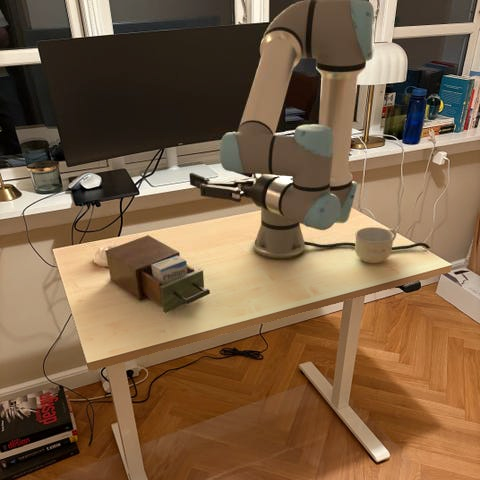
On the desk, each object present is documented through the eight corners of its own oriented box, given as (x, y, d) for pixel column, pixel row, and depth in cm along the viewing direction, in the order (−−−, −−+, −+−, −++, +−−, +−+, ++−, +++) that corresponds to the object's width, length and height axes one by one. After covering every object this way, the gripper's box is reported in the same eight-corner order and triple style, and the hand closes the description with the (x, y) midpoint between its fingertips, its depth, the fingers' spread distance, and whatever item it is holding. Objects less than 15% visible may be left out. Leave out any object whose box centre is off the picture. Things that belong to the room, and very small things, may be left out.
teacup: (365, 269, 140) (369, 244, 135) (345, 253, 148) (348, 229, 143) (406, 260, 144) (411, 236, 139) (384, 245, 152) (388, 221, 147)
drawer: (219, 303, 124) (218, 278, 120) (179, 323, 117) (177, 297, 113) (173, 276, 136) (171, 252, 132) (135, 292, 129) (131, 268, 125)
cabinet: (182, 282, 135) (179, 252, 130) (140, 301, 128) (135, 269, 122) (151, 263, 144) (148, 235, 139) (110, 280, 137) (105, 250, 131)
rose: (102, 237, 149) (130, 241, 147) (104, 250, 152) (132, 254, 149) (84, 252, 141) (115, 256, 139) (87, 265, 144) (117, 269, 141)
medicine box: (163, 300, 124) (160, 270, 119) (154, 293, 127) (150, 263, 122) (189, 289, 128) (186, 260, 123) (180, 283, 131) (177, 254, 126)
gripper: (233, 227, 102) (173, 200, 115) (311, 196, 116) (249, 175, 129) (232, 192, 98) (170, 168, 111) (313, 164, 111) (249, 146, 124)
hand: (212, 172), depth 120 cm, fingers open, 13 cm apart
